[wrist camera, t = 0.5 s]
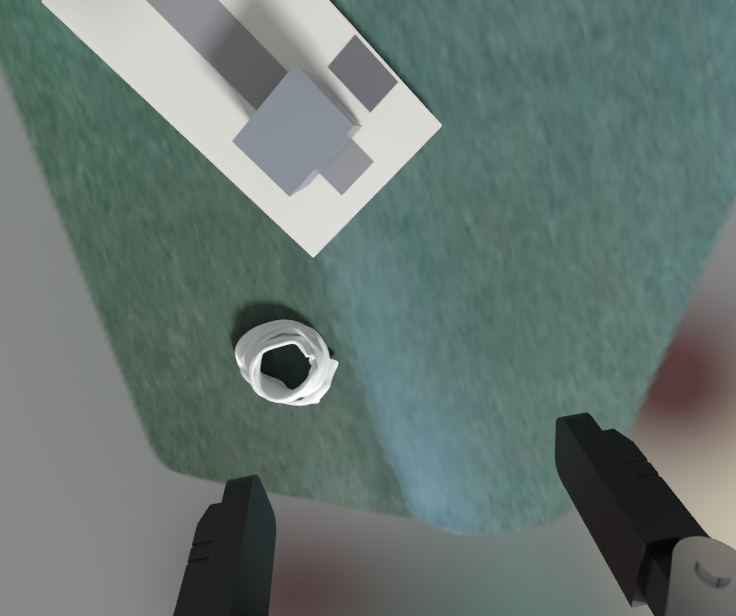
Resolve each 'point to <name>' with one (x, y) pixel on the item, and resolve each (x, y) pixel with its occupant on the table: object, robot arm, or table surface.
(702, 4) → the table surface
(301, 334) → the white folded ring
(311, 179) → the switch tab
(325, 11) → the switch housing
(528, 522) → the table surface
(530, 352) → the table surface
